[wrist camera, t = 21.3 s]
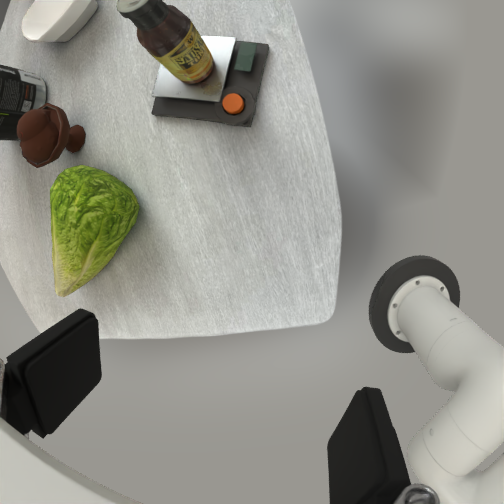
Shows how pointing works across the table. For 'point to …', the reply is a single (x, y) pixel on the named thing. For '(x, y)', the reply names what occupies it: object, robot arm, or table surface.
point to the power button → (233, 103)
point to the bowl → (56, 19)
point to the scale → (235, 83)
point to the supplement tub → (18, 98)
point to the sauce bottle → (169, 38)
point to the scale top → (215, 80)
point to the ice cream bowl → (47, 135)
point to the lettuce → (87, 224)
